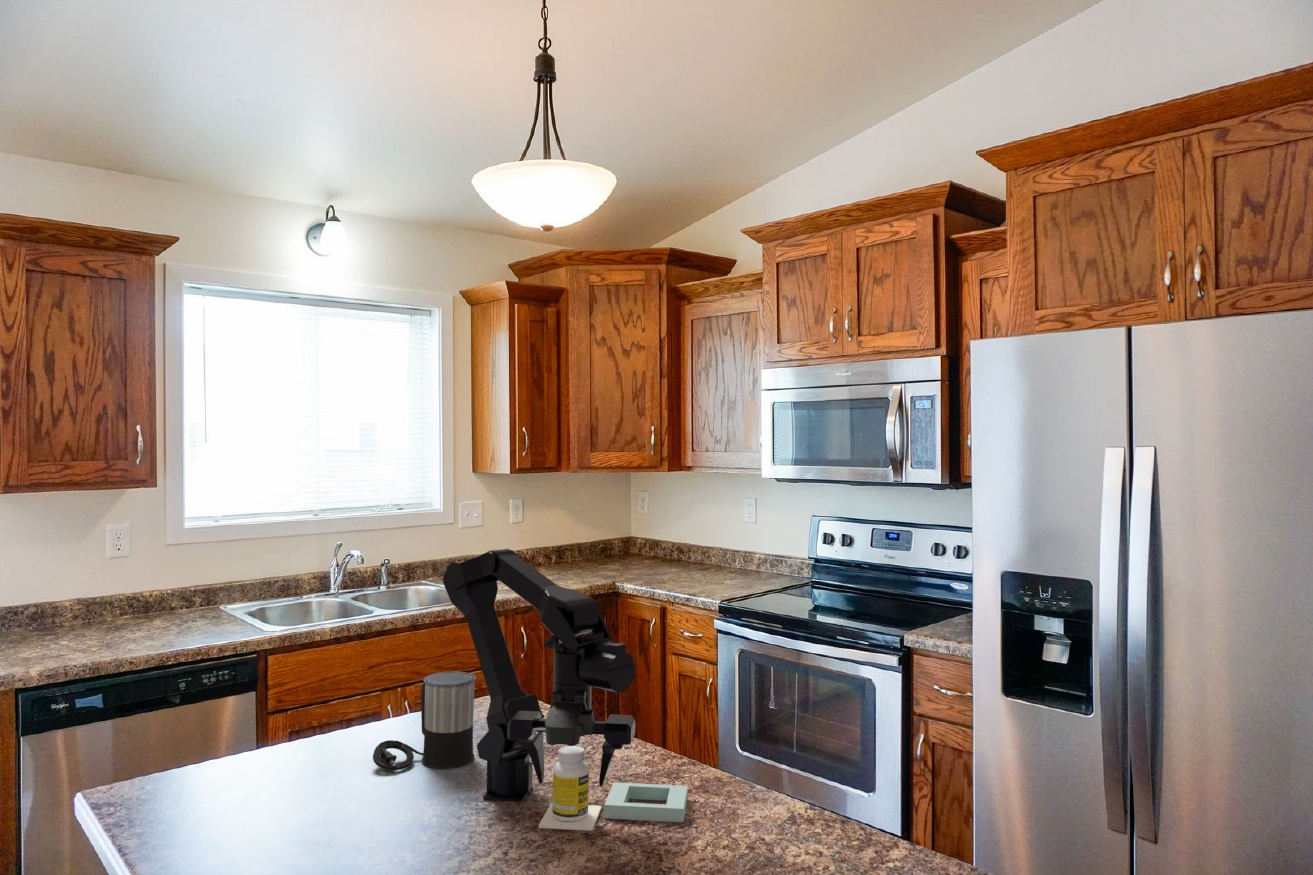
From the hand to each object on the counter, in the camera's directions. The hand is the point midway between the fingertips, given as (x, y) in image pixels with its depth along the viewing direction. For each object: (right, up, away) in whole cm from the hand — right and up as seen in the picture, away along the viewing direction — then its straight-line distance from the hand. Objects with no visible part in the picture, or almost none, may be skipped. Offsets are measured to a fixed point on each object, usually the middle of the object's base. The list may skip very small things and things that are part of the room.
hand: (571, 784), depth 130 cm
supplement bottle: (0, -5, 0) cm, 5 cm away
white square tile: (0, -5, 0) cm, 5 cm away
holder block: (+11, -5, +4) cm, 13 cm away
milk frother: (-28, -6, +22) cm, 36 cm away
